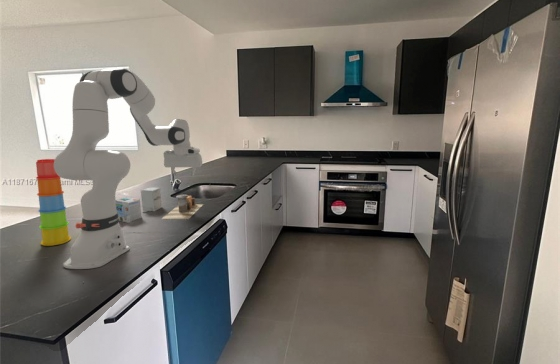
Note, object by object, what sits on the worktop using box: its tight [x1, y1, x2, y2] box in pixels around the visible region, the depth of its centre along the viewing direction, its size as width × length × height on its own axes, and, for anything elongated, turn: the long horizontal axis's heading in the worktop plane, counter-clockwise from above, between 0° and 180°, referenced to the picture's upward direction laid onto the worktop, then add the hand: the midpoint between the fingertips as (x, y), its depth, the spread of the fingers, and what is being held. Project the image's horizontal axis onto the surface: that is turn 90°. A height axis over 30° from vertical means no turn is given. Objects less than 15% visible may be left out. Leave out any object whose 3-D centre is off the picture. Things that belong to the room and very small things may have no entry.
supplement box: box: [140, 187, 163, 214], centre depth 165 cm, size 7×7×13 cm
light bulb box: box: [115, 196, 143, 224], centre depth 151 cm, size 11×7×11 cm, turn 62°
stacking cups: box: [35, 158, 72, 247], centre depth 122 cm, size 10×10×35 cm
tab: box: [187, 195, 193, 207], centre depth 168 cm, size 5×3×6 cm, turn 178°
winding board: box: [161, 194, 205, 220], centre depth 161 cm, size 26×14×10 cm, turn 178°
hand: (184, 175), depth 164 cm, fingers open, 8 cm apart
